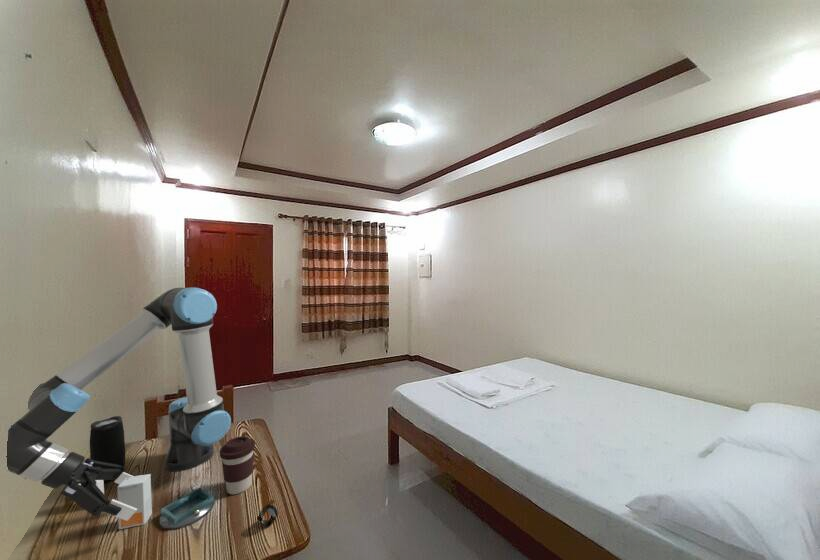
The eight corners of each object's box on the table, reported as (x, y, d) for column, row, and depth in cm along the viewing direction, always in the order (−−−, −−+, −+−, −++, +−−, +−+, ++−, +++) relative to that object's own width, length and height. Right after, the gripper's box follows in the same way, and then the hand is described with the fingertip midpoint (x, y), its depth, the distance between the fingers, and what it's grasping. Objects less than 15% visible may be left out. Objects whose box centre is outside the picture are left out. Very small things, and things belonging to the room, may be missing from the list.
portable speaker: (123, 466, 114) (121, 412, 113) (128, 476, 108) (125, 420, 107) (89, 478, 107) (87, 421, 107) (93, 489, 101) (90, 430, 101)
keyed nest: (151, 518, 88) (150, 509, 88) (201, 490, 100) (200, 482, 100) (172, 537, 82) (172, 527, 82) (223, 504, 93) (223, 496, 93)
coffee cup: (241, 500, 95) (239, 451, 94) (213, 496, 97) (211, 448, 96) (263, 478, 104) (261, 434, 104) (237, 475, 106) (235, 432, 106)
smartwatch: (279, 524, 85) (278, 506, 85) (259, 534, 82) (258, 515, 82) (274, 515, 88) (274, 498, 88) (255, 524, 85) (254, 506, 85)
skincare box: (118, 530, 84) (116, 487, 84) (127, 518, 89) (125, 477, 88) (145, 525, 86) (143, 482, 86) (152, 513, 90) (151, 472, 90)
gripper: (58, 457, 87) (132, 487, 96) (15, 512, 67) (114, 545, 75) (84, 432, 90) (153, 464, 99) (50, 478, 70) (141, 513, 78)
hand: (136, 499), depth 87 cm, fingers open, 13 cm apart
